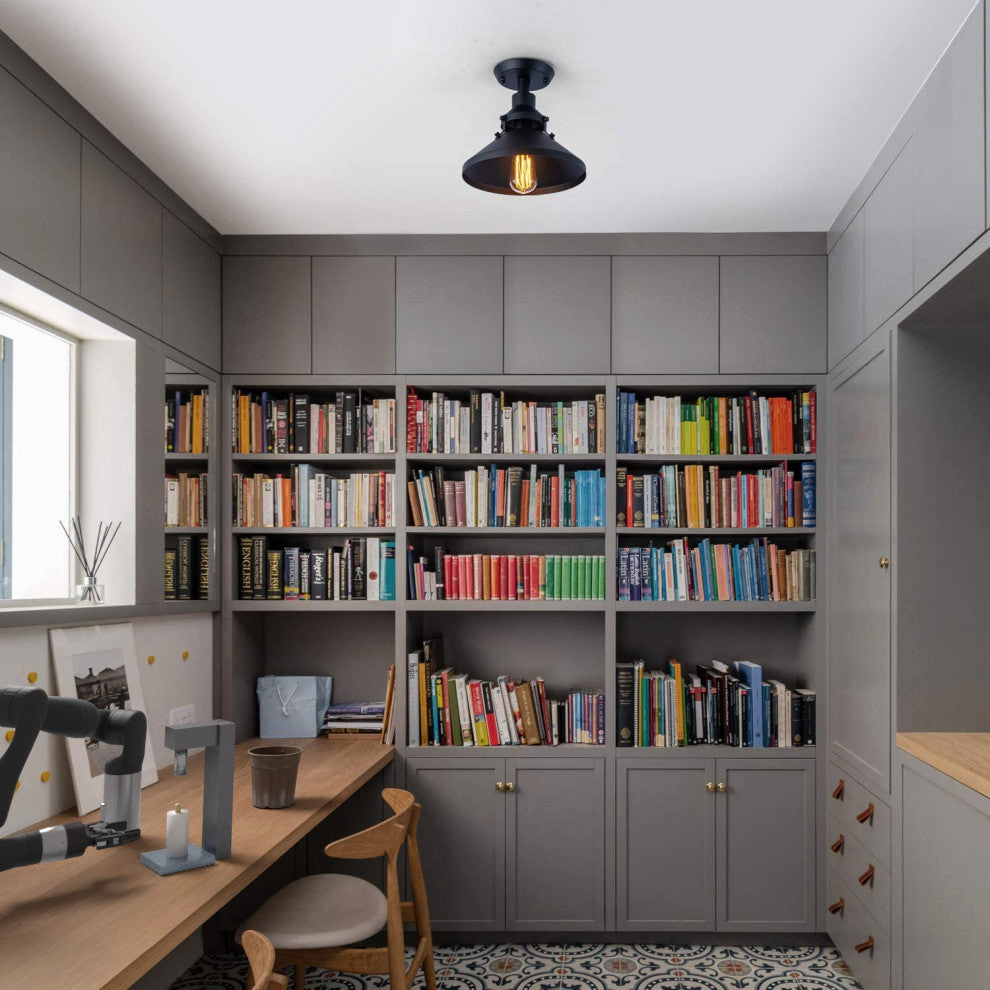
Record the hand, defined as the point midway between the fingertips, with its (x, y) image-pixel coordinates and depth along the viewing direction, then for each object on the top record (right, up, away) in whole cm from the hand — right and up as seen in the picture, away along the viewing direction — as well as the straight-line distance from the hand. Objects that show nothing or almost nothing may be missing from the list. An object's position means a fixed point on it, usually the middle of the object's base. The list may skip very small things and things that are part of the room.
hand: (133, 828), depth 214 cm
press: (+7, -11, +12) cm, 18 cm away
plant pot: (+18, -15, +62) cm, 66 cm away
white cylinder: (+8, -9, +7) cm, 14 cm away
